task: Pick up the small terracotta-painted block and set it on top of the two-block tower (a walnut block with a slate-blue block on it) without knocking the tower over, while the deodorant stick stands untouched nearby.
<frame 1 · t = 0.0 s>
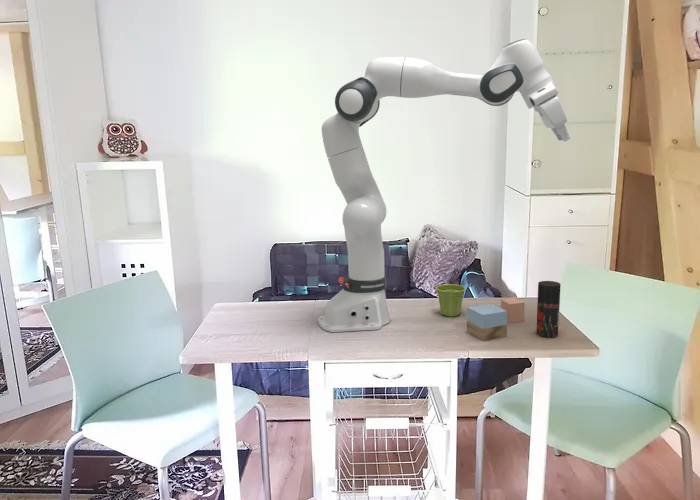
hand: (564, 140, 161), 54 cm above the table, tool tilted 30°, fingers open, 8 cm apart
plant pot: (450, 314, 188), on the table
terracotta block: (512, 319, 181), on the table
tower top: (486, 322, 168), point 4 cm above the table, touching tower base
deodorant: (547, 335, 167), on the table
tower base: (486, 335, 168), on the table, touching tower top
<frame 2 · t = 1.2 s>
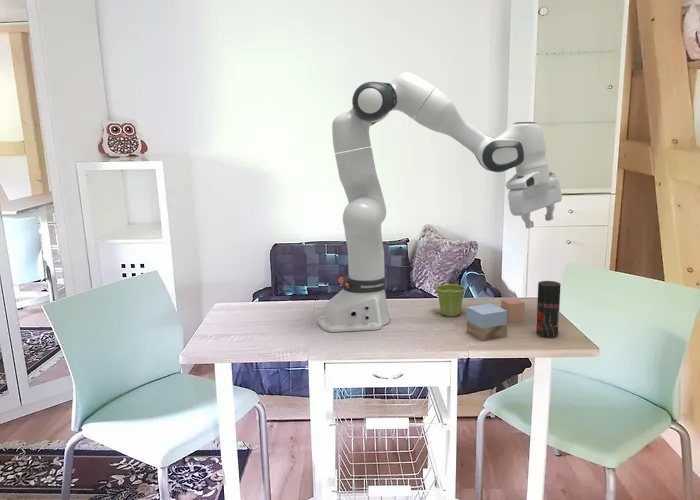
hand: (539, 223, 172), 30 cm above the table, tool pointing down, fingers open, 8 cm apart
nothing on the table moved.
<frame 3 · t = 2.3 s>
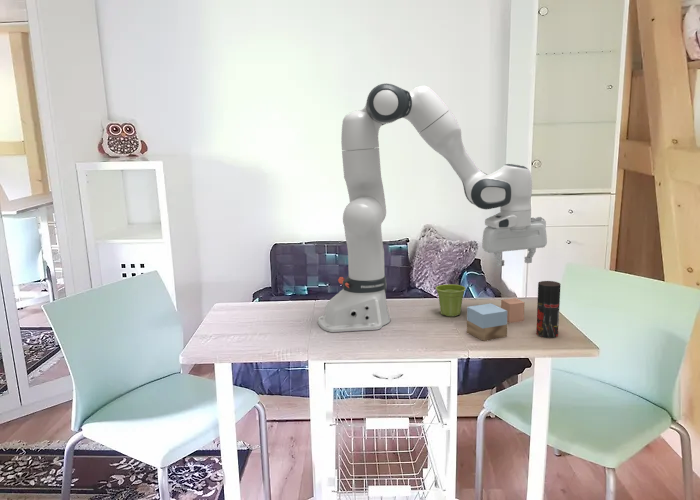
hand: (514, 264, 177), 17 cm above the table, tool pointing down, fingers open, 8 cm apart
nothing on the table moved.
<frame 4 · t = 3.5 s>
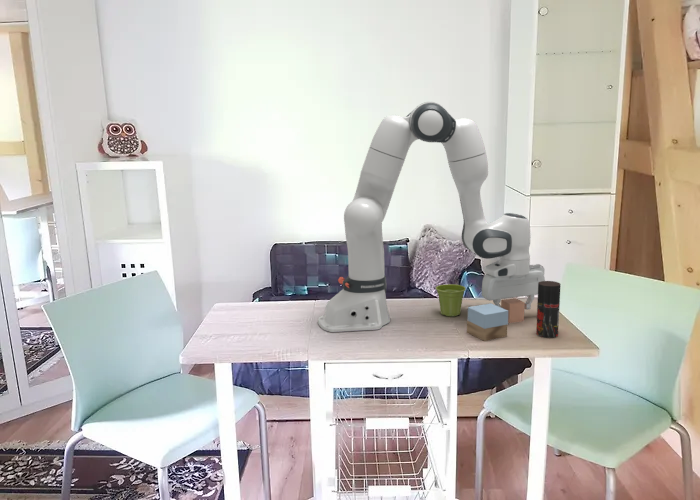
hand: (513, 310, 180), 3 cm above the table, tool pointing down, fingers open, 8 cm apart
nothing on the table moved.
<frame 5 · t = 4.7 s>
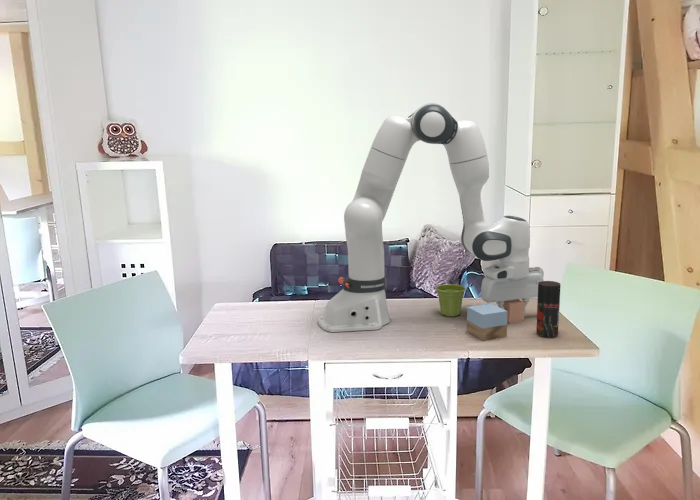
hand: (512, 313, 180), 2 cm above the table, tool pointing down, fingers closed on terracotta block, 5 cm apart
terracotta block: (512, 319, 181), on the table, touching gripper
everything else where it was.
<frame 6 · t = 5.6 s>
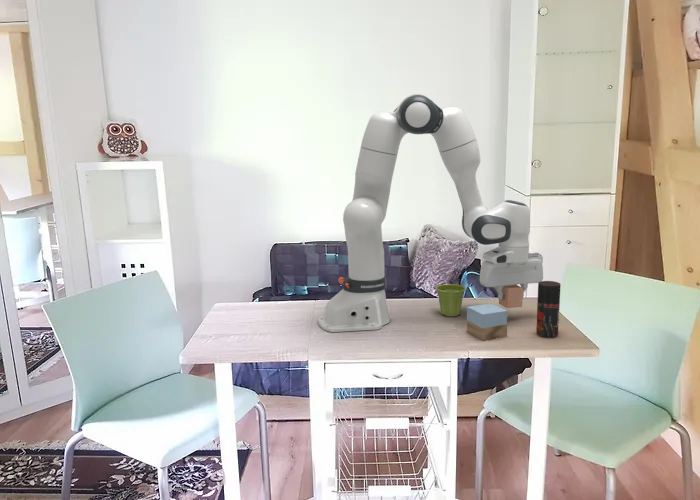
hand: (510, 298, 180), 7 cm above the table, tool pointing down, fingers closed on terracotta block, 5 cm apart
terracotta block: (510, 305, 180), point 5 cm above the table, touching gripper
everything else where it was.
when the fingers open (12 cm above the table, at t = 10.3 s): terracotta block drops 2 cm, resting on tower top.
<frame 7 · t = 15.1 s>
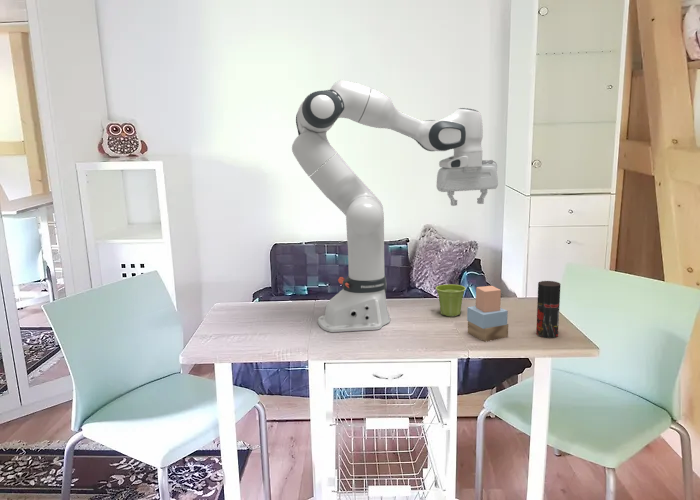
hand: (467, 204, 188), 34 cm above the table, tool pointing down, fingers open, 8 cm apart
terracotta block: (487, 309, 166), point 8 cm above the table, touching tower top
tower top: (486, 322, 167), point 4 cm above the table, touching terracotta block, tower base
everything else where it was.
at the end: terracotta block point 7.7 cm above the table; terracotta block 0.2 cm from the tower base (horizontally); tower top 0.3 cm from the tower base (horizontally) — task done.
